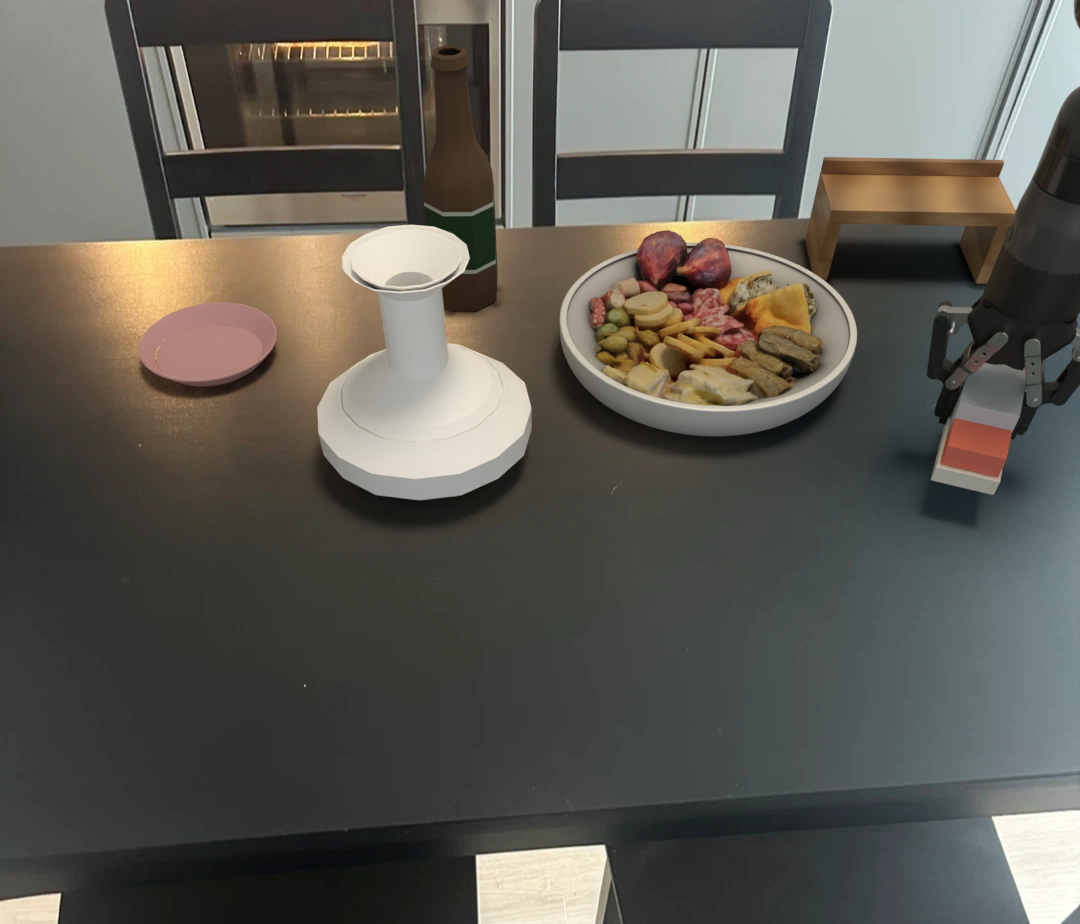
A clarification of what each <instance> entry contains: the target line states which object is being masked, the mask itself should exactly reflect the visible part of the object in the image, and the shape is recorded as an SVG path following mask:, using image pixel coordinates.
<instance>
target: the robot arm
mask: <svg viewBox="0 0 1080 924" xmlns="http://www.w3.org/2000/svg"><path fill="white" fill-rule="evenodd" d="M1073 16H1074V20H1075V23H1076V25H1077V28H1078V30H1080V0H1073ZM1015 210H1016V211H1015V214H1014V217H1013V219H1012V222H1011V224H1010V226H1009V228H1008V230H1007V234H1006V237H1005V240H1004V242H1003V245H1002V247H1001V250H1000V252H999V255H998V257H997V260H996V262H995V265H994V267H993V270H992V273H991V275H990V278H989V280H988V283H987V284H985V287H984V291H983V293H982V294H981V296H980V297H979V299H977V300H976V301H975V302H974V303H973V304H972V305H971V306H954V305H953V303H952V302H951V301H949V300H944V301H943V300H942V301H941V302H940V303H939V304H938V306H937V309H936V312H935V316H934V319H933V325H932V332H931V338H930V339H931V340H930V346H929V354H928V362H927V369H926V376H927V378H928V379H930V380H938V381H939V382H941V383H942V385H943V386H942V387H941V390H940V393H939V395H938V398H937V400H936V403H935V406H934V411H933V412H934V417H937V418H938V423H937V424H941V425H944V426H945V425H946V422H947V420H948V418H949V416H950V414H951V411H952V409H953V406H954V404H955V402H956V399H957V397H958V394H959V391H960V387H961V384H962V383H963V382H964V381H965V380H966V379H967V378H968V377H969V376H970V375H971V374H974V373H975V372H976V371H977V370H978V369H979V368H980V367H981V366H982V365H983V364H984V363H988V364H993V365H1007V366H1009V367H1011V368H1013V369H1017V370H1021V371H1023V369H1024V368H1025V385H1026V386H1025V391H1024V397H1023V402H1022V407H1021V413H1020V417H1019V419H1018V421H1017V423H1016V426H1015V428H1014V430H1013V432H1012V434H1011V441H1012V440H1013V441H1015V439H1016V437H1017V435H1019V436H1023V435H1024V434H1025V433H1026V432H1028V429H1029V427H1030V425H1031V424H1032V421H1033V419H1034V417H1035V415H1036V413H1037V411H1038V409H1039V408H1040V407H1041V406H1042V405H1045V404H1052V405H1053V406H1056V407H1059V406H1063V405H1065V404H1066V403H1067V402H1068V400H1069V399H1070V398H1071V397H1072V396H1073V394H1074V393H1075V391H1076V390H1077V389H1078V388H1079V387H1080V328H1078V317H1079V315H1080V86H1078V87H1076V88H1075V89H1073V90H1072V91H1071V92H1070V93H1069V94H1068V95H1067V96H1066V98H1065V100H1063V103H1062V104H1061V107H1060V108H1059V111H1058V113H1057V115H1056V117H1055V120H1054V122H1053V125H1052V127H1051V130H1050V132H1049V136H1048V138H1047V141H1046V143H1045V146H1044V148H1043V150H1042V153H1041V156H1040V158H1039V161H1038V164H1037V166H1036V168H1035V171H1034V173H1033V175H1032V177H1031V179H1030V181H1029V183H1028V186H1027V187H1026V189H1025V191H1024V192H1023V194H1022V197H1021V198H1020V200H1019V202H1018V204H1017V207H1016V208H1015ZM964 324H967V325H968V328H969V330H970V334H971V336H972V340H971V342H970V343H968V344H967V346H966V347H965V349H964V351H963V352H962V353H961V354H960V355H959V356H958V357H957V358H956V359H955V360H954V361H951V360H949V359H948V358H947V350H948V344H949V337H950V336H951V337H952V336H953V335H954V336H955V335H956V334H957V333H958V332H959V329H960V327H961V326H962V325H964ZM1069 345H1072V348H1071V356H1070V357H1071V359H1070V361H1069V362H1068V364H1067V365H1066V366H1065V368H1064V369H1063V370H1062V372H1060V374H1059V375H1058V376H1057V378H1055V380H1054V381H1046V380H1045V378H1046V373H1045V372H1046V371H1045V370H1046V369H1045V366H1046V359H1047V358H1049V357H1051V356H1053V355H1054V354H1056V353H1058V352H1059V351H1061V350H1063V349H1064V348H1065V347H1068V346H1069Z"/></svg>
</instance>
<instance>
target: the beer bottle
mask: <svg viewBox="0 0 1080 924" xmlns="http://www.w3.org/2000/svg"><path fill="white" fill-rule="evenodd" d="M431 54H432V55H431V61H430V68H432V69H433V74H434V75H433V76H434V103H435V141H434V144H433V145H432V147H431V149H430V152H429V154H428V157H427V162H426V165H425V171H424V176H423V187H422V188H423V207H424V215H425V226H432V227H436V228H439V229H442V230H444V231H447V232H450V233H452V234H454V235H455V236H456V237H458V238H459V239H460V240H461V241H463V242H464V243H465V244H466V245H467V248H468V253H469V257H470V259H469V261H468V264H467V266H466V268H465V271H464V272H463V273H461V274H460V275H459V276H457V277H456V278H455V279H453V280H452V281H451V282H449V283H448V284H447V285H445V286H444V287H443V288H442V295H443V305H444V308H446V309H448V310H450V311H452V312H478V311H480V310H482V309H484V308H486V307H487V306H489V305H492V304H493V303H496V301H497V297H498V251H497V250H498V249H497V226H496V225H497V224H496V223H497V222H496V201H495V185H494V175H493V169H492V166H491V164H490V161H489V158H488V156H487V154H486V152H485V151H484V150H483V148H482V147H481V145H480V143H479V142H478V141H477V138H476V134H475V130H474V125H473V115H472V108H471V98H470V89H469V80H468V72H467V71H468V70H467V68H468V67H469V63H470V59H469V55H468V51H467V49H465V48H463V47H460V46H458V45H455V44H454V45H453V44H452V45H450V44H449V45H448V44H447V45H442V46H439V47H436V48H434V49H432V53H431Z"/></svg>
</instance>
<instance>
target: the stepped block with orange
mask: <svg viewBox="0 0 1080 924" xmlns="http://www.w3.org/2000/svg"><path fill="white" fill-rule="evenodd" d="M1024 391H1025V392H1026V385H1025V368H1024V369H1023V371H1021V370H1017V369H1013V368H1011V367H1009V366H1007V365H993V364H988V363H984V364H983V365H982V366H981V367H980V368H979V369H978V370H977V371H976V372H975V373H974V374H971V375H970V376H969V377H968V378H967V379H966V380H965V381H964V382H963V383H962V384H961V387H960V391H959V394H958V397H957V399H956V402H955V404H954V406H953V409H952V411H951V414H950V416H949V418H948V420H947V422H946V425H944V426H943V430H942V433H941V438H940V441H939V445H938V449H937V453H936V456H935V461H934V465H933V469H932V472H931V477H930V481H933V482H937V483H941V484H945V485H949V486H954V487H958V488H962V489H966V490H970V491H975V492H979V493H983V494H987V495H991V496H994V495H995V493H996V491H997V489H998V488H999V485H1000V483H1001V479H1002V475H1003V469H1004V466H1005V464H1006V462H1007V460H1008V456H1009V455H1008V454H1009V450H1010V444H1011V441H1012V439H1011V434H1012V432H1013V430H1014V428H1015V426H1016V423H1017V421H1018V419H1019V417H1020V413H1021V407H1022V402H1023V397H1024Z"/></svg>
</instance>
